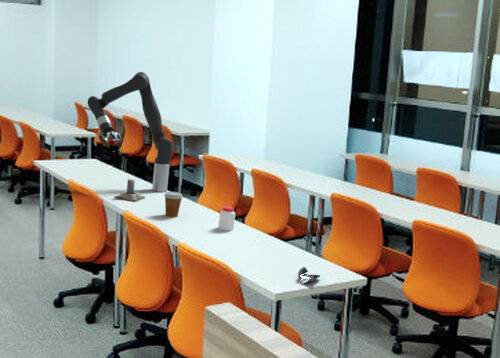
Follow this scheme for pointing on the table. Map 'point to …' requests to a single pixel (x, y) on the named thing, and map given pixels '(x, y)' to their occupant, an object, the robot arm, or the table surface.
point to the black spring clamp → (304, 270)
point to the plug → (130, 186)
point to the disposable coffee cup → (172, 203)
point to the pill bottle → (226, 218)
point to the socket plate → (130, 196)
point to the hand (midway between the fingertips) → (114, 147)
